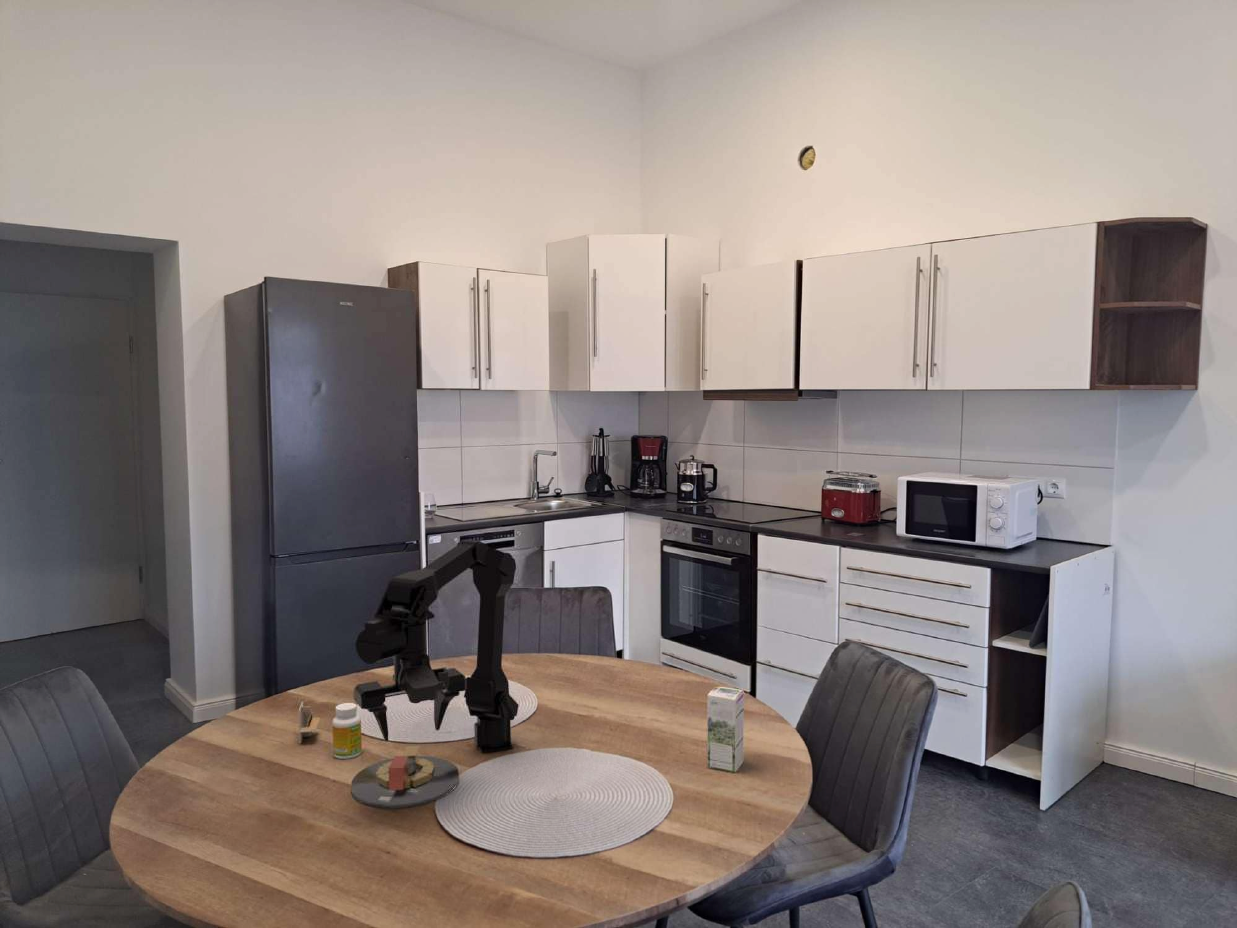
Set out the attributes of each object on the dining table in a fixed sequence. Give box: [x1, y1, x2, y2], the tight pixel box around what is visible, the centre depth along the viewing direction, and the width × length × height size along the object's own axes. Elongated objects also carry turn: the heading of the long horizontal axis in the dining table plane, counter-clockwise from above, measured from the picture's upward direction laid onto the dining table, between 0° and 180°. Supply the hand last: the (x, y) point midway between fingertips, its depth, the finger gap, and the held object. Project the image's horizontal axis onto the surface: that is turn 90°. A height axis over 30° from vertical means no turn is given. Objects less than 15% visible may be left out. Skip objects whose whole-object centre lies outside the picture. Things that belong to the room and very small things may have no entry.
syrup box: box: [706, 685, 745, 773], centre depth 162 cm, size 6×6×14 cm
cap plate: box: [350, 755, 459, 810], centre depth 155 cm, size 19×19×4 cm
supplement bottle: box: [331, 702, 363, 760], centre depth 168 cm, size 5×5×10 cm
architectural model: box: [297, 701, 321, 743], centre depth 176 cm, size 3×7×7 cm, turn 13°
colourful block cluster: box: [376, 745, 435, 790], centre depth 155 cm, size 13×13×5 cm
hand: (412, 734), depth 150 cm, fingers open, 9 cm apart
